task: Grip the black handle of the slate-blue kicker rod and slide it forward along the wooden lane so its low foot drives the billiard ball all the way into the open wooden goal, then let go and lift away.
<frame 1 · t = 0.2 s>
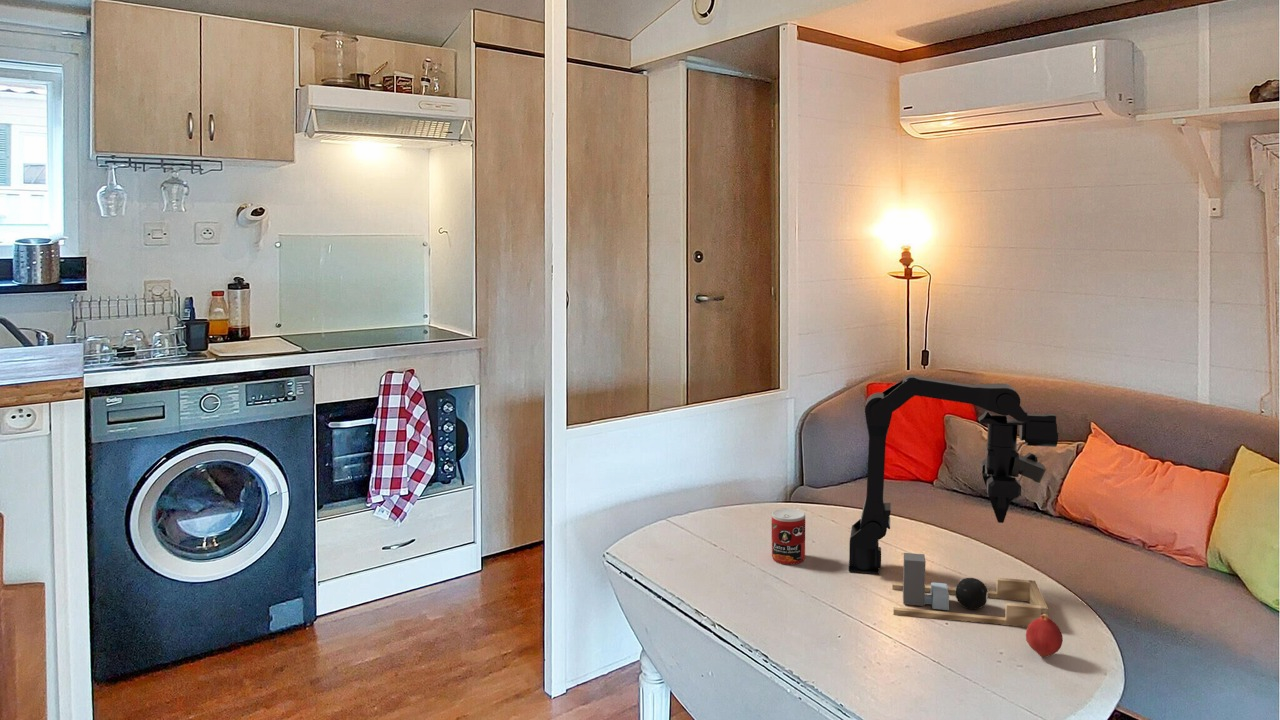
hand: (998, 515, 177), 14 cm above the table, tool pointing down, fingers open, 9 cm apart
lane: (945, 605, 167), on the table
onion: (1043, 657, 146), on the table
goal: (1020, 611, 163), on the table
billiard ball: (971, 608, 166), on the table
canned food: (788, 559, 193), on the table
kicker: (925, 580, 168), point 5 cm above the table, slide at 0.0 cm
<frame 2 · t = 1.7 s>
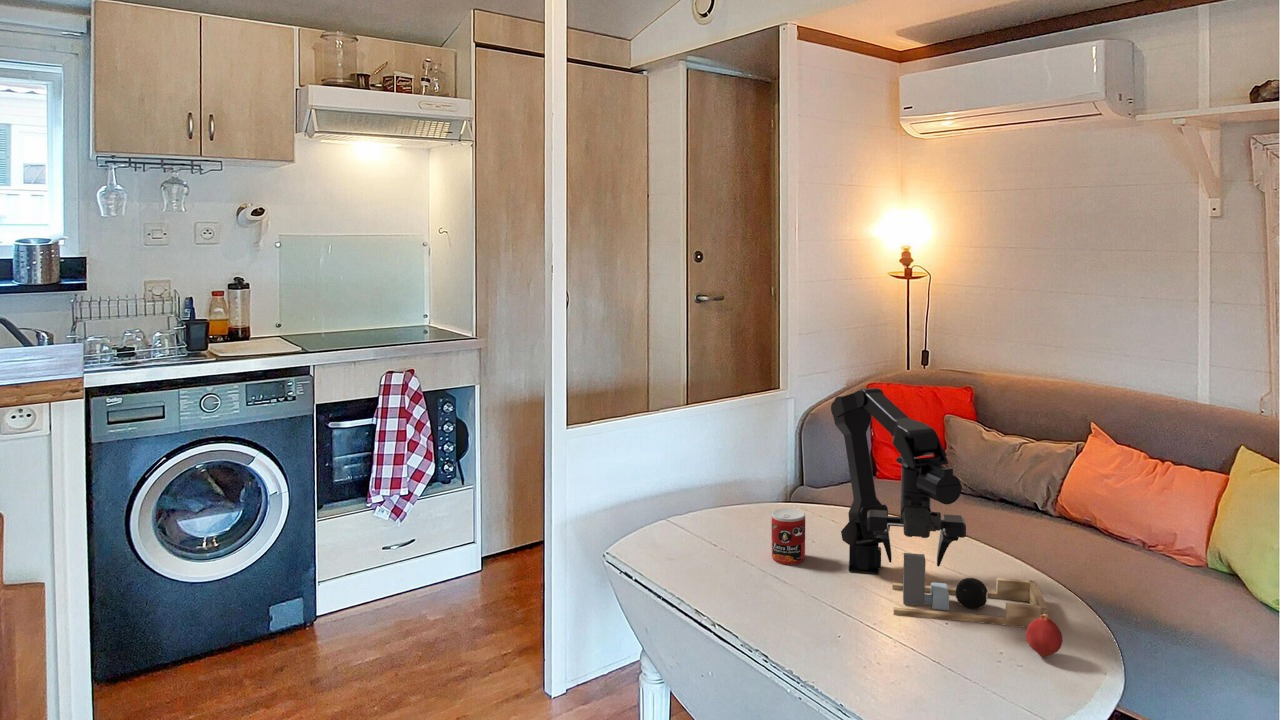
hand: (914, 563, 168), 8 cm above the table, tool pointing down, fingers open, 9 cm apart
nothing on the table moved.
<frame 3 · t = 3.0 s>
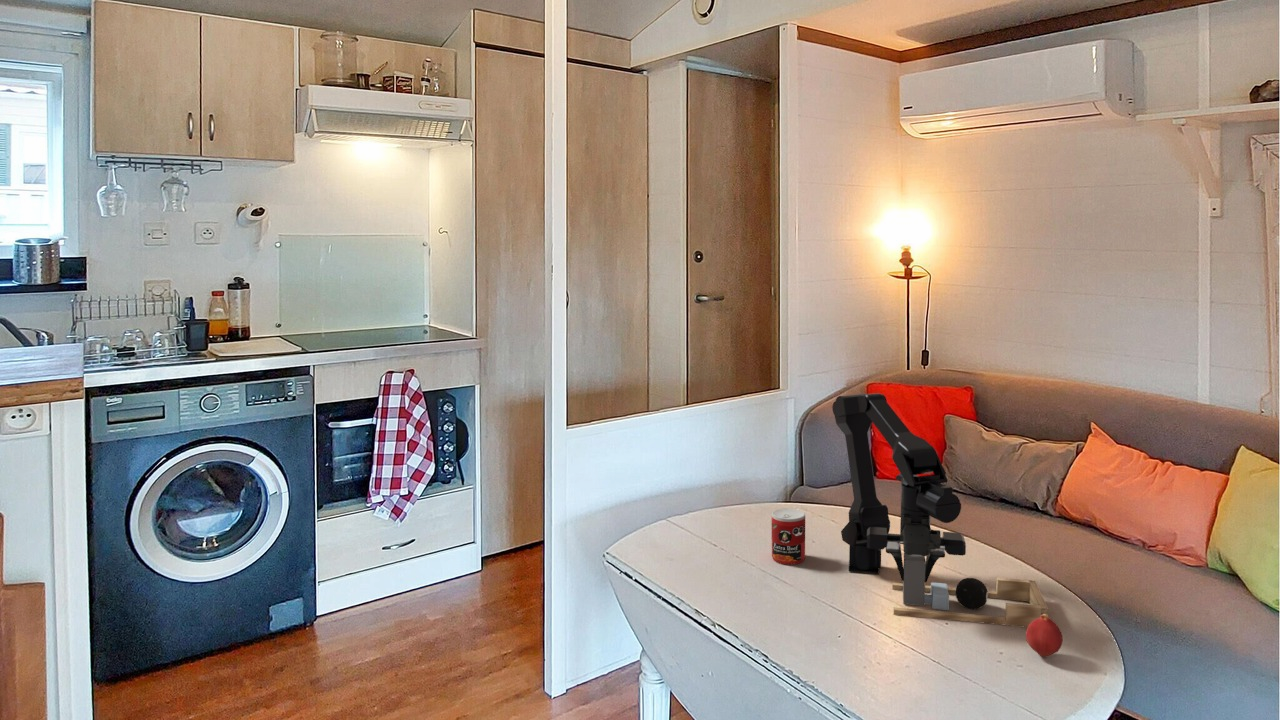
hand: (913, 581, 168), 5 cm above the table, tool pointing down, fingers closed on kicker, 4 cm apart
kicker: (925, 580, 168), point 5 cm above the table, slide at 0.0 cm, touching gripper
everything else where it was.
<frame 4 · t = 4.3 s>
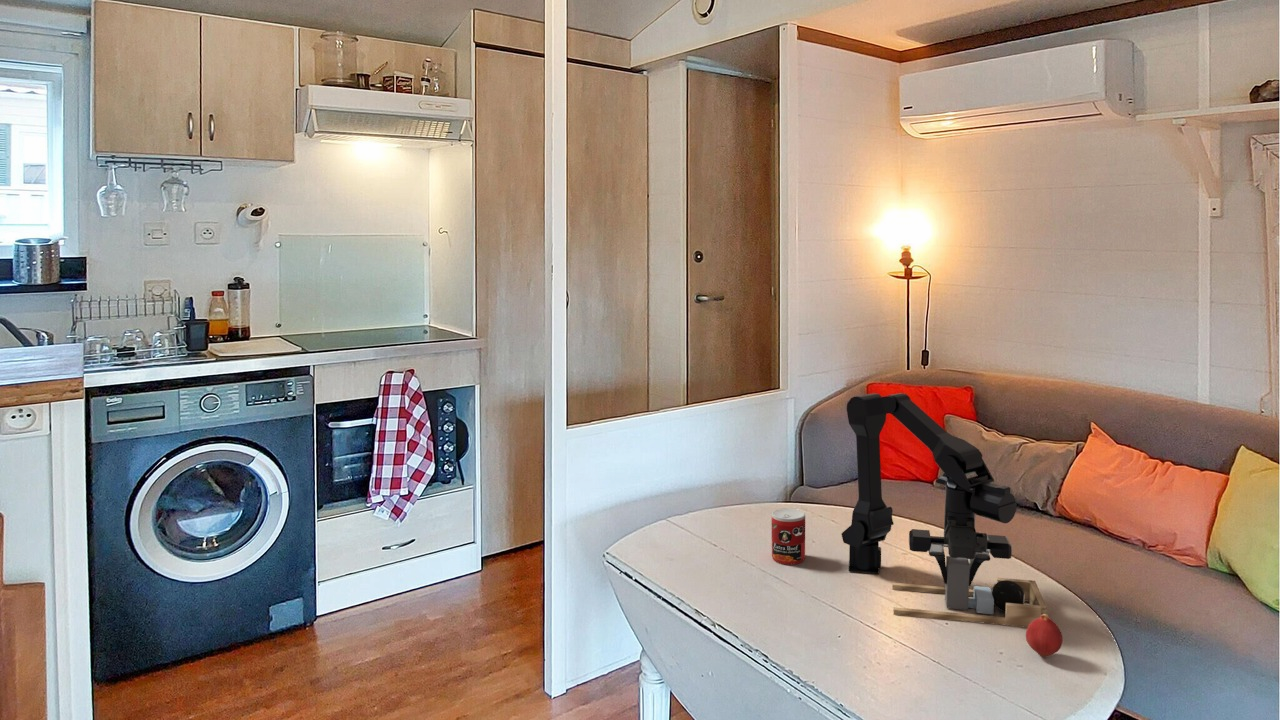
hand: (957, 584, 166), 5 cm above the table, tool pointing down, fingers open, 4 cm apart
billiard ball: (1007, 611, 164), on the table, touching kicker
kicker: (969, 583, 165), point 5 cm above the table, slide at 8.2 cm, touching billiard ball, gripper
everything else where it was.
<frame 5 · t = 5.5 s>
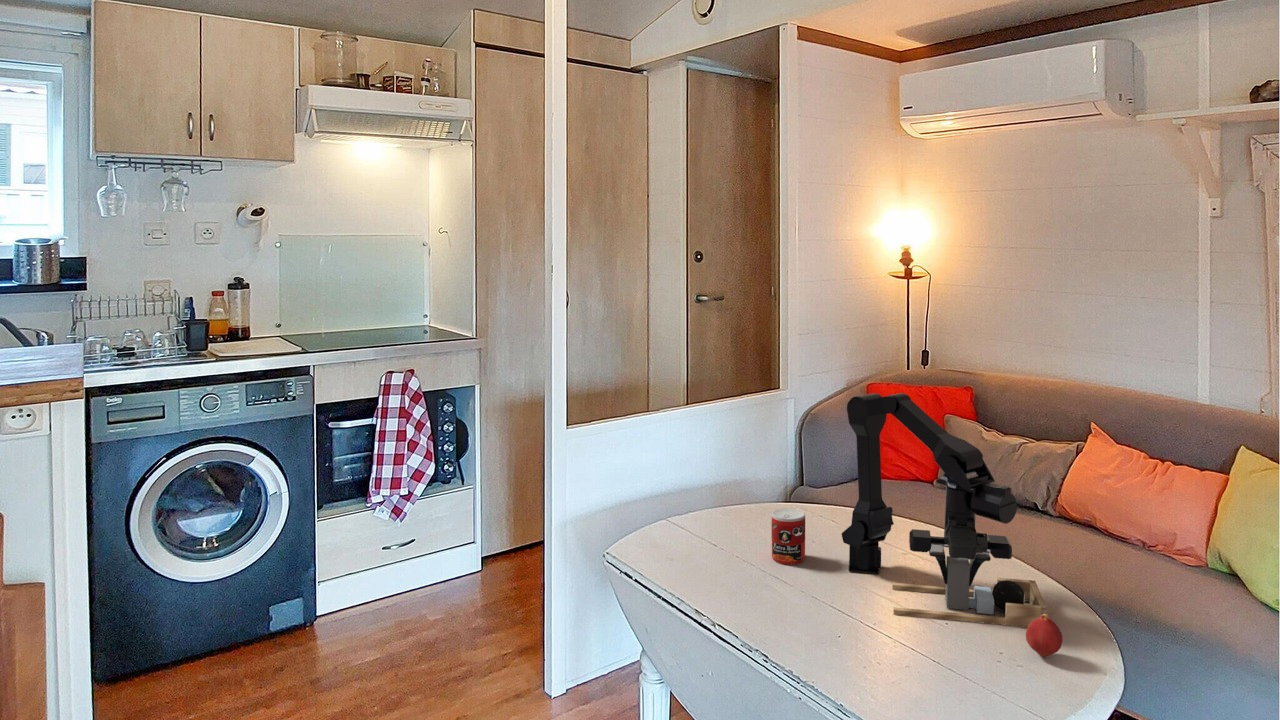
hand: (957, 584, 166), 5 cm above the table, tool pointing down, fingers closed on kicker, 4 cm apart
kicker: (969, 583, 165), point 5 cm above the table, slide at 8.3 cm, touching billiard ball, gripper
everything else where it was.
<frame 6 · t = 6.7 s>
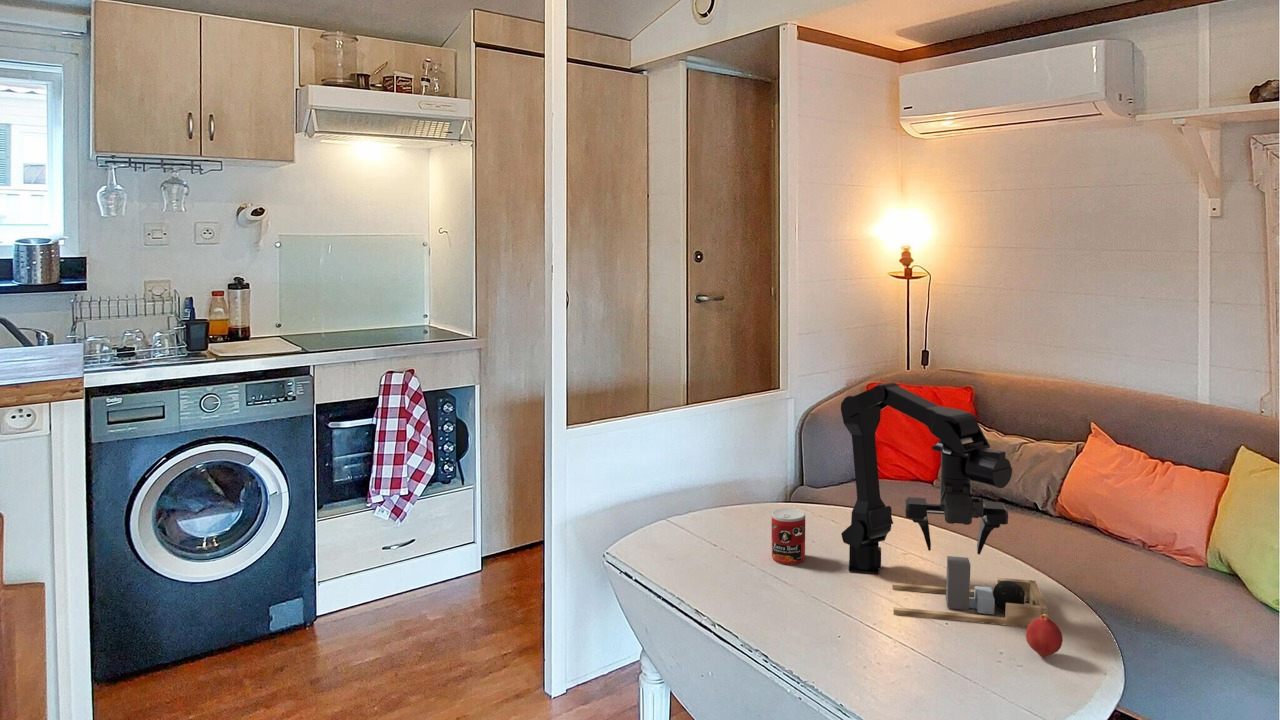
hand: (953, 551, 165), 11 cm above the table, tool pointing down, fingers open, 9 cm apart
billiard ball: (1008, 611, 164), on the table
kicker: (969, 583, 165), point 5 cm above the table, slide at 8.4 cm
everything else where it was.
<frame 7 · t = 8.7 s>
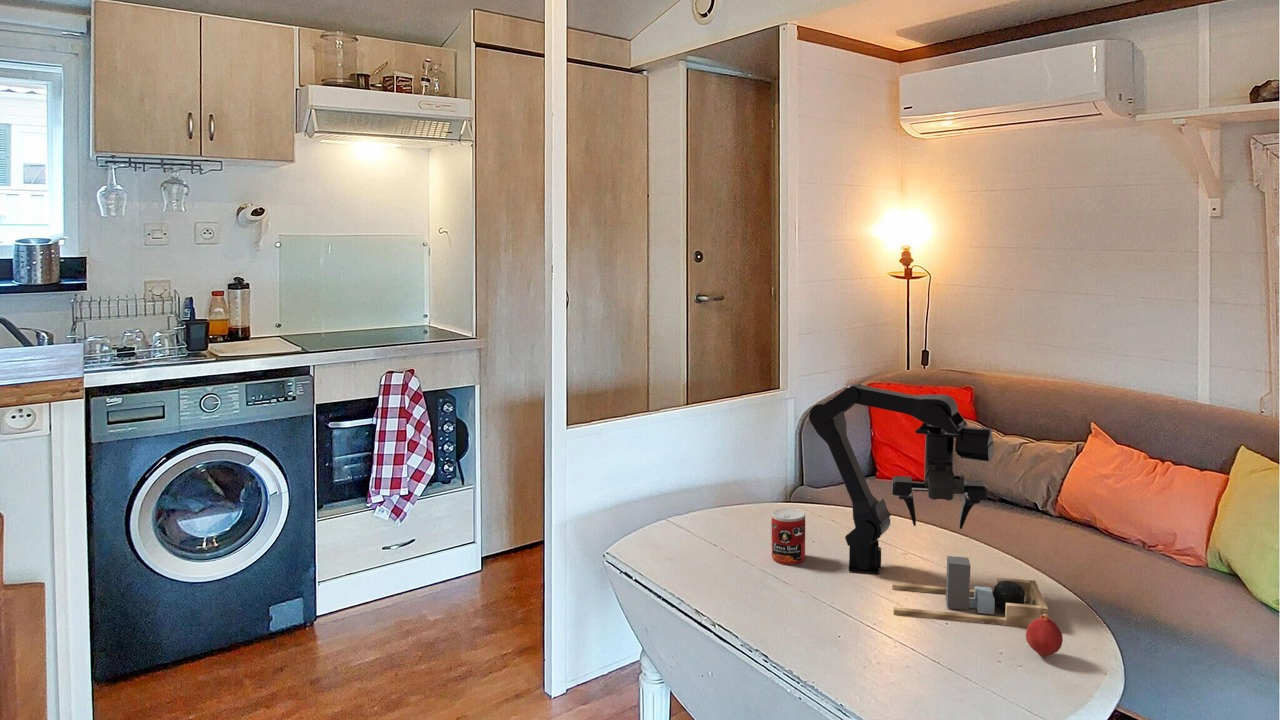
hand: (937, 526, 176), 13 cm above the table, tool pointing down, fingers open, 9 cm apart
nothing on the table moved.
at the end: billiard ball inside the target area (1.9 cm from its centre), on the table; kicker slide at 8.4 cm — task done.
